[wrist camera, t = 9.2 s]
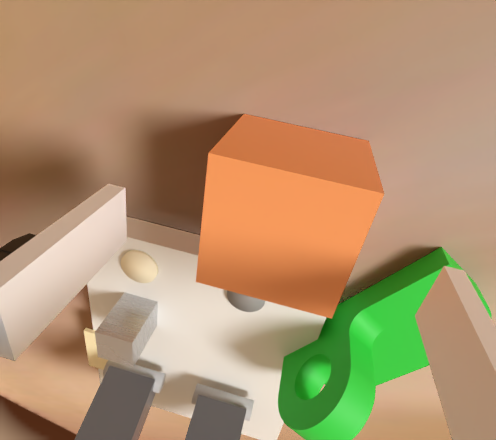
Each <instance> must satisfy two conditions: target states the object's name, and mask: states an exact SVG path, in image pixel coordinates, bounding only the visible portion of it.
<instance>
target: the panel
mask: <svg viewBox="0 0 496 440" xmlns="http://www.w3.org/2000/svg"><path fill="white" fill-rule="evenodd" d="M126 223H127V242H126V243H125V244H124V245H123V246H122V247H121V248H120V249H119V250H118V251H117V252H116V253H115V254H114V255H113V256H112V258H111V259H110V260H109V261H108V262H107V263H106V264H105V265H104V266H103V267H102V268H101V269H100V270H99V271H98V273H97V274H96V275H95V276H94V277H93V278H92V279H91V280H90V281H89V282H88V283H87V287H88V294H89V302H90V309H91V317H92V325H93V330H92V329H89V328H85V329H84V337H85V343H86V350H87V356H88V363H89V366H92V367H95V368H98V371H99V378H100V384H101V382H102V380H103V378H104V376H103V370H104V367H105V365H106V363H107V361H108V360H106V359H103V358H100V357H98V354H97V346H96V338H95V331H96V330H97V328H98V327H99V326H100V324H101V323H102V322H103V320H104V319H105V318H106V316H107V315H108V314H109V312H110V311H111V310H112V308H113V307H114V306H115V304H116V303H117V302H118V300H119V299H120V298H121V296H122V295H123V294H124V293H129V294H132V295H136V296H140V297H143V298H147V299H150V300H154V301H158V313H157V327H156V328H155V330H154V332H153V334H152V335H151V337H150V339H149V341H148V343H147V344H146V346H145V348H144V350H143V351H142V353H141V355H140V357H139V358H138V360H137V362H136V364H135V365H138V366H142V367H145V368H148V369H152V370H155V371H158V372H162V373H165V374H166V378H165V382H164V385H163V387H162V389H161V391H160V393H156V394H155V396H154V399H153V402H152V404H151V406H153V407H156V408H160V409H163V410H166V411H169V412H173V413H176V414H179V415H182V416H185V417H189V418H192V415H193V412H194V408H195V404H192V398H193V394H194V391H195V388H196V385H197V383H198V384H202V385H205V386H208V387H212V388H215V389H218V390H222V391H225V392H228V393H232V394H235V395H238V396H242V397H245V398H248V399H252V400H254V404H253V409H252V413H251V417H250V421H247V420H244V423H243V427H242V432H241V434H243V435H247V436H250V437H253V438H256V439H259V440H277V438H278V436H279V433H280V431H281V428H282V426H283V423H284V422H283V420H282V419H281V416H280V414H279V409H278V394H279V387H280V380H281V373H282V366H283V359H284V356H286V355H288V354H290V353H292V352H294V351H296V350H298V349H300V348H302V347H304V346H306V345H308V344H310V343H311V342H313V341H315V340H317V339H318V337H319V335H320V332H321V330H322V327H323V325H324V322H325V320H326V317H324V316H320V315H316V314H313V313H309V312H305V311H302V310H298V309H294V308H290V307H287V306H283V305H279V304H276V303H272V302H268V301H265V300H261V299H257V298H253V297H250V296H246V295H242V294H239V293H235V292H231V291H228V290H224V289H220V288H216V287H213V286H209V285H205V284H202V283H198V282H196V274H197V263H198V253H199V243H200V235H197V234H194V233H190V232H186V231H182V230H178V229H174V228H170V227H166V226H162V225H158V224H155V223H151V222H147V221H143V220H139V219H135V218H131V217H127V216H126Z"/></svg>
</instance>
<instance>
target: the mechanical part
mask: <svg viewBox="0 0 496 440" xmlns="http://www.w3.org/2000/svg"><path fill="white" fill-rule="evenodd" d="M444 266H447V267H451V268H456V269H460V270H463V269H462V268H461V267H460V266H459V265H458V264H457V263H456V262H455V261H454V260H453V259H452V258H451V257H450V256H449V255H448V253H447V252H446V251H445V250H444V249H443V248H442V247H440V248H439V249H437V250H435V251H433V252H431V253H430V254H428V255H426V256H424V257H422V258H421V259H419V260H417V261H415V262H414V263H412V264H410V265H408V266H406V267H405V268H403V269H401V270H399V271H397V272H396V273H394V274H392V275H390V276H389V277H387V278H385V279H383V280H381V281H380V282H378V283H376V284H374V285H373V286H371V287H369V288H367V289H365V290H364V291H362V292H360V293H358V294H356V295H355V296H353V297H351V298H349V299H348V300H346V301H344V302H342V303H340V304H339V305H337V308H336V310H335V312H334V315H333V317H332V319H331V318H327V317H326V320H325V322H324V325H323V327H322V330H321V332H320V335H319V337H318V339H317V340H315V341H313V342H311V343H310V344H308V345H306V346H304V347H302V348H300V349H298V350H296V351H294V352H292V353H290V354H288V355H286V356H284V359H283V366H282V373H281V380H280V387H279V394H278V409H279V414H280V416H281V419H282V420H283V422H284V423H285V424H286V425H287V426H288V427H290V428H291V429H292V430H294V431H295V432H296V433H298V434H299V435H300V436H301V437H303V438H304V439H305V440H352V439H353V438H354V437H355V436H356V435H357V434H358V433H359V432H360V430H361V429H362V428H363V426H364V425H365V423H366V421H367V420H368V417H369V415H370V413H371V410H372V407H373V404H374V399H375V386H376V385H379V384H382V383H384V382H387V381H389V380H392V379H395V378H397V377H400V376H402V375H405V374H408V373H410V372H413V371H415V370H418V369H421V368H423V367H426V366H428V365H429V361H428V358H427V355H426V352H425V348H424V345H423V342H422V338H421V335H420V332H419V328H418V325H417V322H416V318H415V314H416V313H417V311H418V309H419V308H420V306H421V304H422V302H423V301H424V299H425V297H426V296H427V294H428V292H429V291H430V289H431V287H432V285H433V284H434V282H435V280H436V279H437V277H438V275H439V273H440V272H441V270H442V268H443V267H444ZM467 276H468V275H467ZM468 278H469V280H470V282H471V283H472V285H473V287H474V289H475V290H476V292H477V294H478V296H479V298H480V299H481V301H482V303H483V305H484V307H485V308H486V310H487V312H488V314H489V316H490V317H491V312H490V309H489V307H488V305H487V303H486V301H485V299H484V298H483V296H482V294H481V292H480V290H479V288H478V287H477V285H476V283H475V282H474V281H473V280H472V279H471V278H470V277H469V276H468ZM491 319H492V318H491ZM324 384H325V387H324V388H323V390H322V391H321V392H320V390H321V388H322V386H323V385H324ZM319 392H320V393H319Z"/></svg>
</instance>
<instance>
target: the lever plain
mask: <svg viewBox="0 0 496 440" xmlns="http://www.w3.org/2000/svg"><path fill="white" fill-rule="evenodd" d="M192 404H195V408H194V412H193V415H192V418H191V422H190V425H189V428H188V432H187V435H186V438H185V440H240V436H241V432H242V427H243V423H244V420H247V421H250V417H251V413H252V409H253V404H254V400H252V399H248V398H245V397H242V396H238V395H235V394H232V393H228V392H225V391H222V390H218V389H215V388H212V387H208V386H205V385H202V384H198V383H197V385H196V388H195V391H194V394H193V398H192Z"/></svg>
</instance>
